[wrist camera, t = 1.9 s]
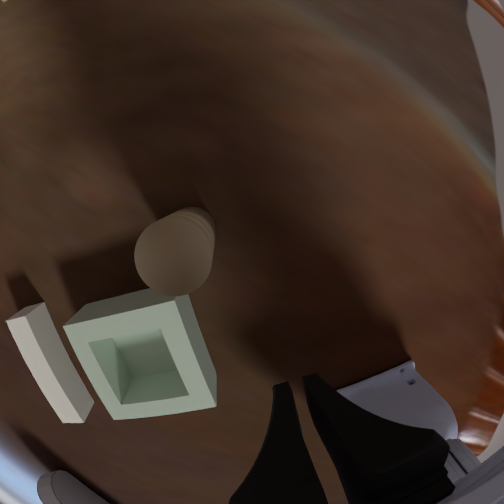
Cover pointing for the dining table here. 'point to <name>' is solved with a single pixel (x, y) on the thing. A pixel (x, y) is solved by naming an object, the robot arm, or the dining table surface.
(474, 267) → the dining table surface
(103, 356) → the socket block
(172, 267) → the dowel
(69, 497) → the decorative item
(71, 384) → the backstop wall
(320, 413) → the robot arm
